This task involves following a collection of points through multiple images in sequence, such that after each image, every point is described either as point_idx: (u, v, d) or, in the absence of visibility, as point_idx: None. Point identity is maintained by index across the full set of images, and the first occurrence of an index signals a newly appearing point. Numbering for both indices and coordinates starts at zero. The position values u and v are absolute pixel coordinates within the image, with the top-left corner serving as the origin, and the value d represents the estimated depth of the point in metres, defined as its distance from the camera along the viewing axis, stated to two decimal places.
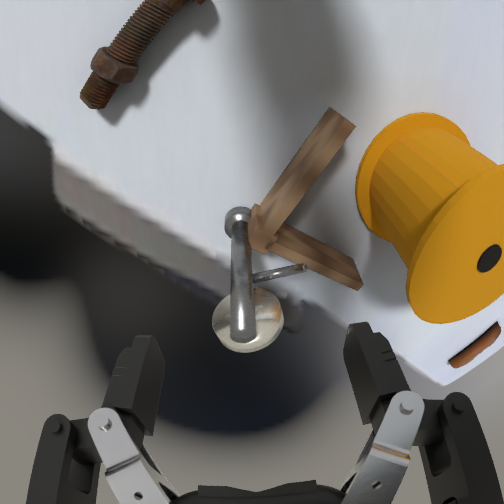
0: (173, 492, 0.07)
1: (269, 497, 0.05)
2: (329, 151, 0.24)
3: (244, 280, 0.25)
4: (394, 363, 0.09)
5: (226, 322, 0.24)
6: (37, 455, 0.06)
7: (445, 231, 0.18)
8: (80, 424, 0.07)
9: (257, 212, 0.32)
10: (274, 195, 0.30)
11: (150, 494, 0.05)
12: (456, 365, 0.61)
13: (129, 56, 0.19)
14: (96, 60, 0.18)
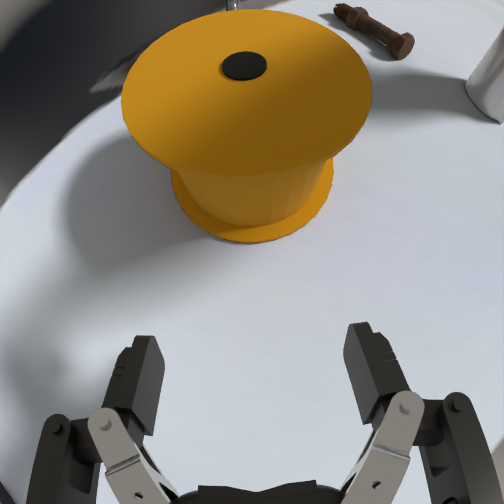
0: (173, 492, 0.07)
1: (269, 497, 0.05)
2: None
3: None
4: (394, 363, 0.09)
5: None
6: (37, 455, 0.06)
7: (291, 20, 0.19)
8: (80, 424, 0.07)
9: None
10: None
11: (150, 494, 0.05)
12: None
13: (362, 19, 0.34)
14: (363, 8, 0.34)
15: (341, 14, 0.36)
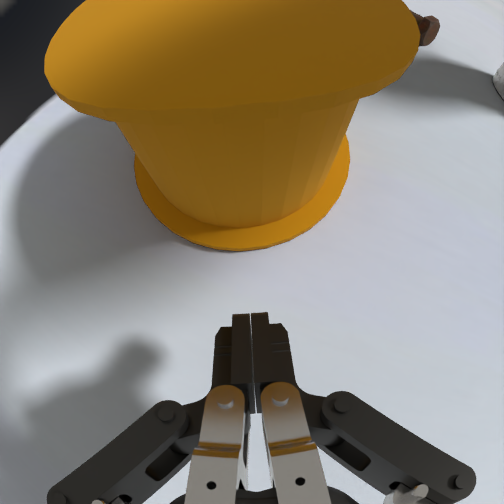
0: (244, 488, 0.07)
1: (269, 497, 0.05)
2: None
3: None
4: (286, 354, 0.10)
5: None
6: (127, 430, 0.07)
7: None
8: (189, 408, 0.08)
9: None
10: None
11: (224, 490, 0.05)
12: None
13: None
14: None
15: None
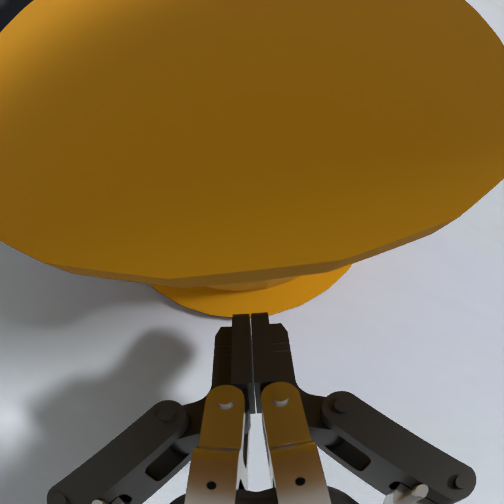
0: (244, 488, 0.07)
1: (269, 497, 0.05)
2: None
3: None
4: (286, 354, 0.10)
5: None
6: (127, 430, 0.07)
7: None
8: (189, 409, 0.08)
9: None
10: None
11: (224, 490, 0.05)
12: None
13: None
14: None
15: None
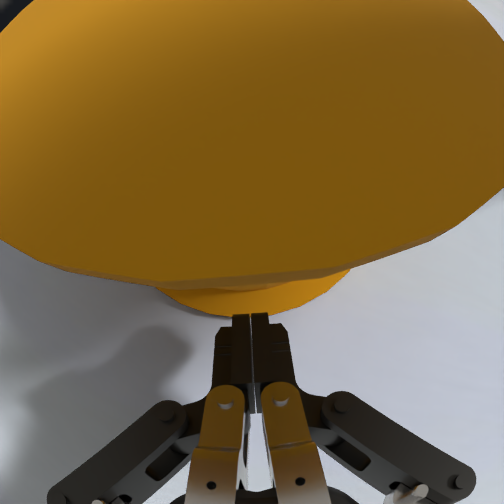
0: (244, 488, 0.07)
1: (269, 497, 0.05)
2: None
3: None
4: (286, 354, 0.10)
5: None
6: (127, 430, 0.07)
7: None
8: (189, 408, 0.08)
9: None
10: None
11: (224, 490, 0.05)
12: None
13: None
14: None
15: None
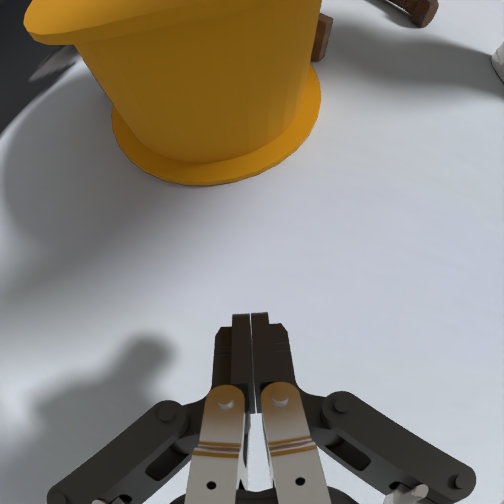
0: (244, 488, 0.07)
1: (269, 497, 0.05)
2: None
3: None
4: (286, 354, 0.10)
5: None
6: (127, 430, 0.07)
7: None
8: (189, 409, 0.08)
9: None
10: None
11: (224, 490, 0.05)
12: None
13: None
14: None
15: None
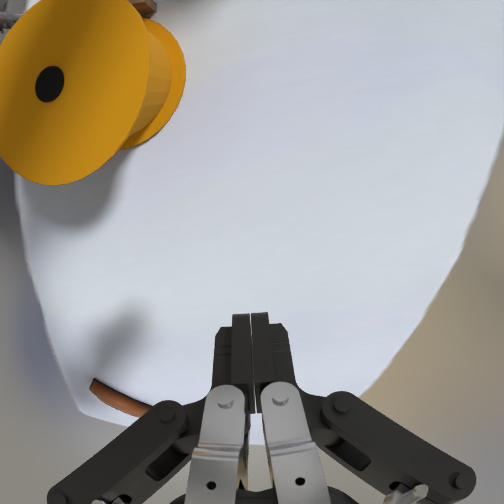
0: (244, 488, 0.07)
1: (269, 497, 0.05)
2: None
3: (6, 14, 0.13)
4: (286, 354, 0.10)
5: None
6: (127, 430, 0.07)
7: (46, 6, 0.12)
8: (189, 408, 0.08)
9: None
10: None
11: (224, 490, 0.05)
12: (95, 390, 0.56)
13: None
14: None
15: None
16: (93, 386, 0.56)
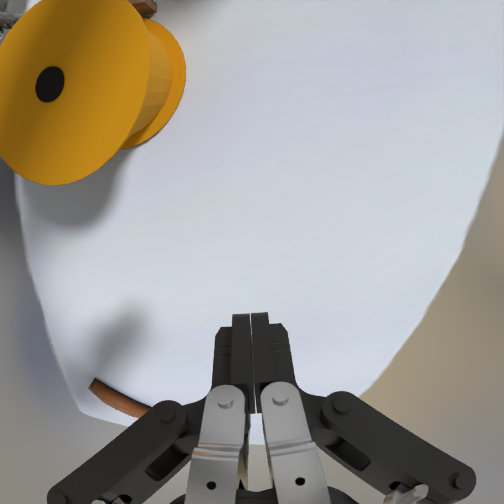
0: (244, 488, 0.07)
1: (269, 497, 0.05)
2: None
3: (6, 14, 0.13)
4: (286, 354, 0.10)
5: None
6: (127, 430, 0.07)
7: (46, 6, 0.12)
8: (189, 409, 0.08)
9: None
10: None
11: (224, 490, 0.05)
12: (96, 390, 0.56)
13: None
14: None
15: None
16: (94, 386, 0.56)
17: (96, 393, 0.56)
